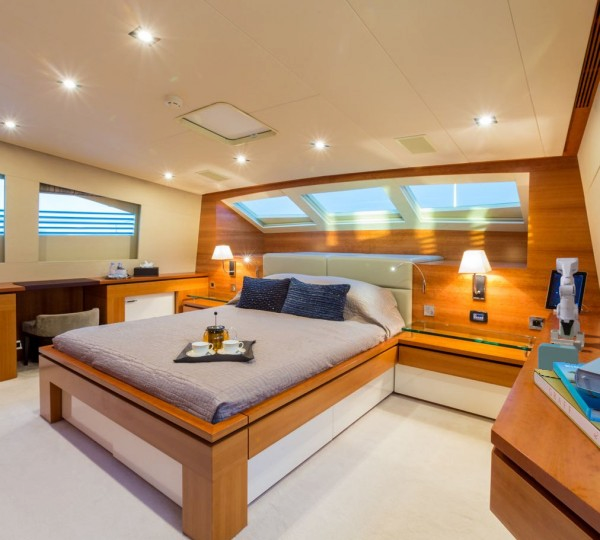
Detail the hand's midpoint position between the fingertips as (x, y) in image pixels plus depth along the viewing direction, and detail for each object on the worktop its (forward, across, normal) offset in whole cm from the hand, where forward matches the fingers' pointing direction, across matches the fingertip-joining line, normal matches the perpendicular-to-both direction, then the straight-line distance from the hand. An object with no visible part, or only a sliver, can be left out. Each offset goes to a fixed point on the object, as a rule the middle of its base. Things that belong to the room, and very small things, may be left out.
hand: (567, 334), depth 183 cm
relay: (+5, +14, +4) cm, 15 cm away
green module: (+2, 0, 0) cm, 2 cm away
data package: (+5, +65, 0) cm, 65 cm away
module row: (+5, 0, 0) cm, 5 cm away
